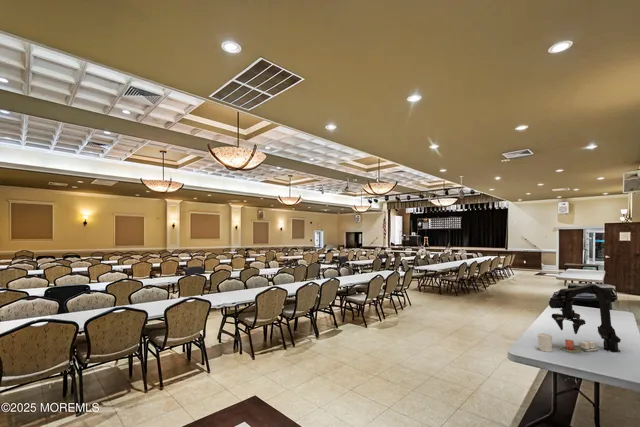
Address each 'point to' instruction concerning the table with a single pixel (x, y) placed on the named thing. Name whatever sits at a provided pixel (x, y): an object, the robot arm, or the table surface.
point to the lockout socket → (569, 350)
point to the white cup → (545, 342)
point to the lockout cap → (569, 345)
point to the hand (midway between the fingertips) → (568, 332)
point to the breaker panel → (585, 349)
